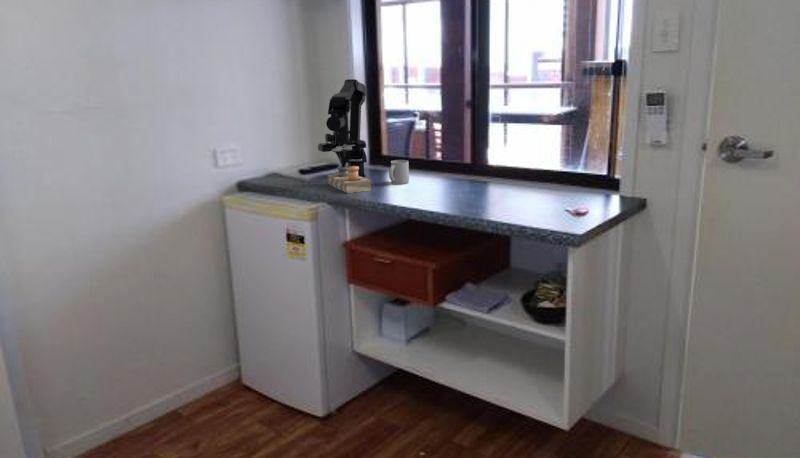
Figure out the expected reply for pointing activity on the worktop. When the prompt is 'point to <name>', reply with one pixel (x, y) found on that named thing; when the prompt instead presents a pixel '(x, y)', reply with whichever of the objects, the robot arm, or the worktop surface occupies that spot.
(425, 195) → the worktop surface
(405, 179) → the cup
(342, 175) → the grey mushroom knob
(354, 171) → the mushroom knob terracotta
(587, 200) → the worktop surface
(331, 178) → the housing
